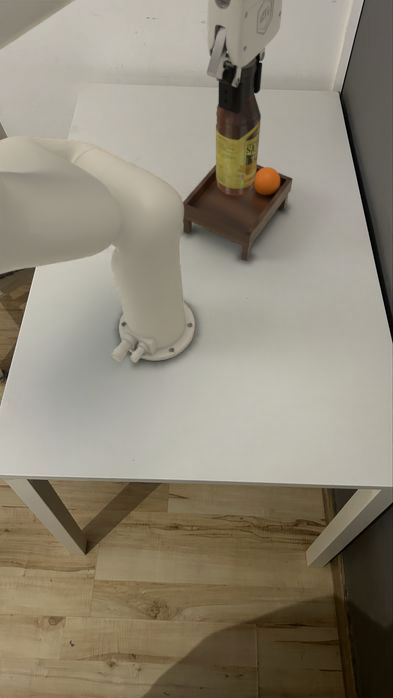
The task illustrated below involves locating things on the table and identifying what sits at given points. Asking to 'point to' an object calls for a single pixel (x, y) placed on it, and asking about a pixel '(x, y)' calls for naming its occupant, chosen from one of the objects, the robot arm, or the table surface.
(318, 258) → the table surface
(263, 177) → the clementine
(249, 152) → the sauce bottle
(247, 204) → the tray
